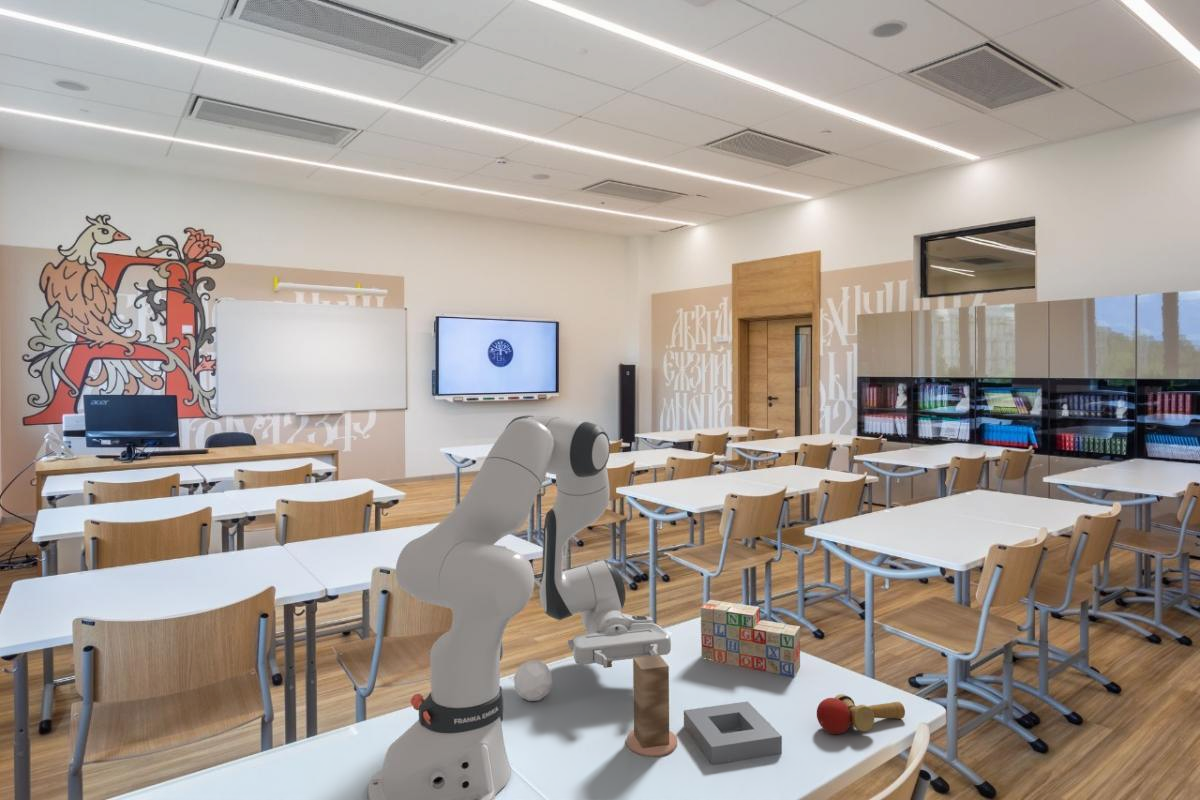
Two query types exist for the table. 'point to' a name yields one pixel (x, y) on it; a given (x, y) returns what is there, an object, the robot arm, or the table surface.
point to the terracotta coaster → (651, 751)
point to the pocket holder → (736, 745)
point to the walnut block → (651, 701)
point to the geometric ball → (533, 680)
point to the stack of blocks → (748, 639)
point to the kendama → (853, 714)
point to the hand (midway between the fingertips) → (631, 661)
